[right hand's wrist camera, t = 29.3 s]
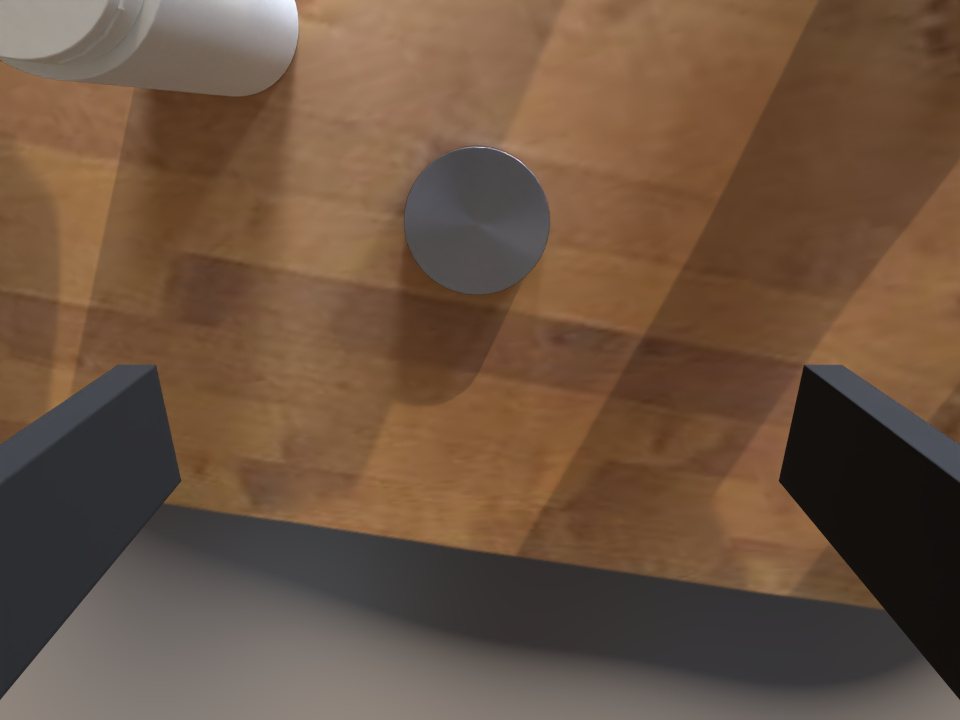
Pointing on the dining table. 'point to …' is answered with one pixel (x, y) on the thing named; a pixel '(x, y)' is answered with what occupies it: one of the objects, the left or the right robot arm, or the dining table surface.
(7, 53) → the jar
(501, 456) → the dining table surface
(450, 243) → the lid
